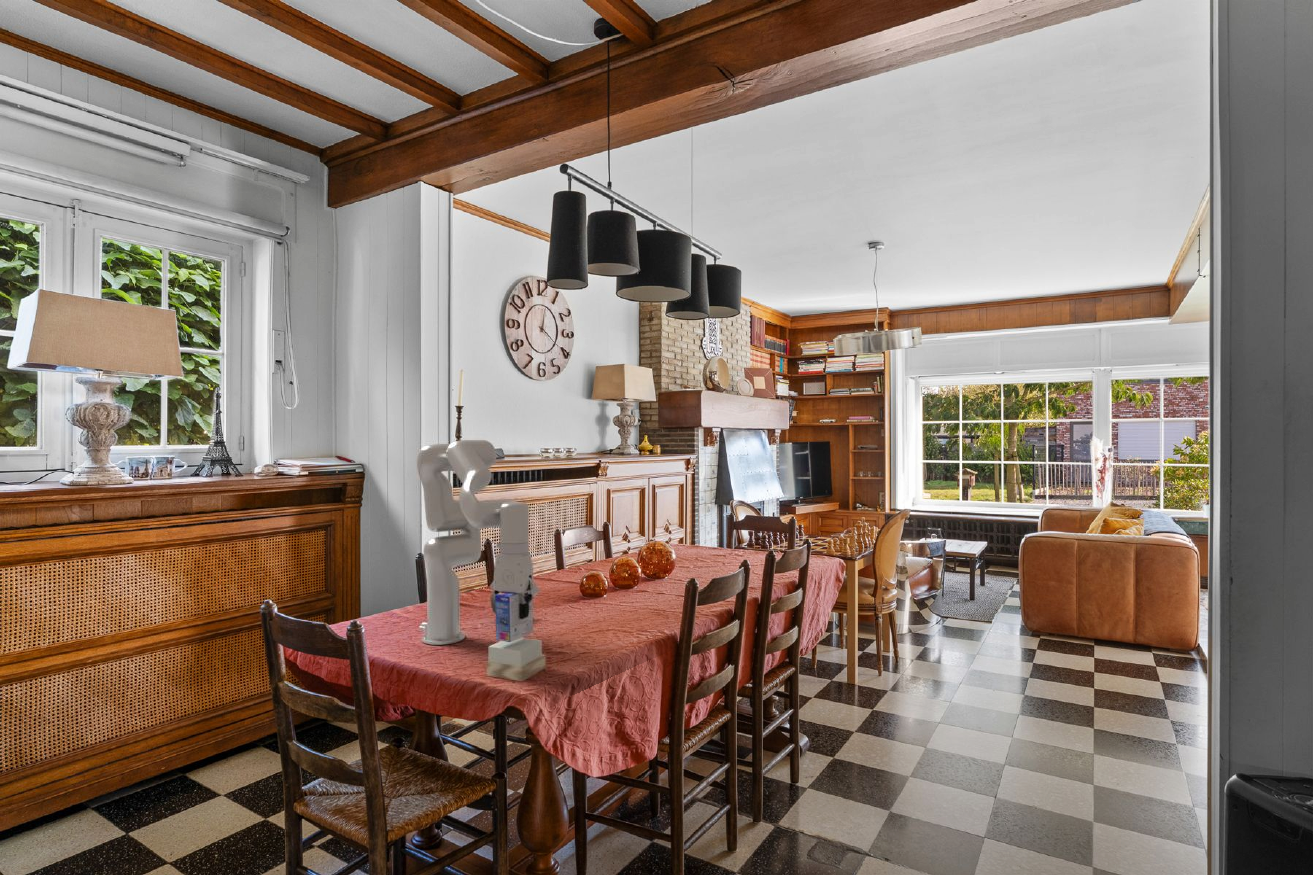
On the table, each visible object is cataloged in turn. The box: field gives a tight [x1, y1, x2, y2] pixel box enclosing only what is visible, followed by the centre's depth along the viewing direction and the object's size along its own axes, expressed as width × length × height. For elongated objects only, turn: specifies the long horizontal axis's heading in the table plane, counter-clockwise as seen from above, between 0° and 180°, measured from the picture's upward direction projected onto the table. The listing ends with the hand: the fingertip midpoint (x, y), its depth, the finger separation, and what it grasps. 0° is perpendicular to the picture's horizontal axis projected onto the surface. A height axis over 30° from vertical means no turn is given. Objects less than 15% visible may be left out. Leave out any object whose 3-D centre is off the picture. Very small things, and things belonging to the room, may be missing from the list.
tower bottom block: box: [486, 653, 546, 682], centre depth 186 cm, size 11×11×4 cm
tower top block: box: [487, 637, 543, 667], centre depth 186 cm, size 10×10×4 cm
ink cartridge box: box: [495, 590, 534, 642], centre depth 186 cm, size 10×6×14 cm, turn 153°
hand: (514, 615), depth 186 cm, fingers closed on ink cartridge box, 5 cm apart
